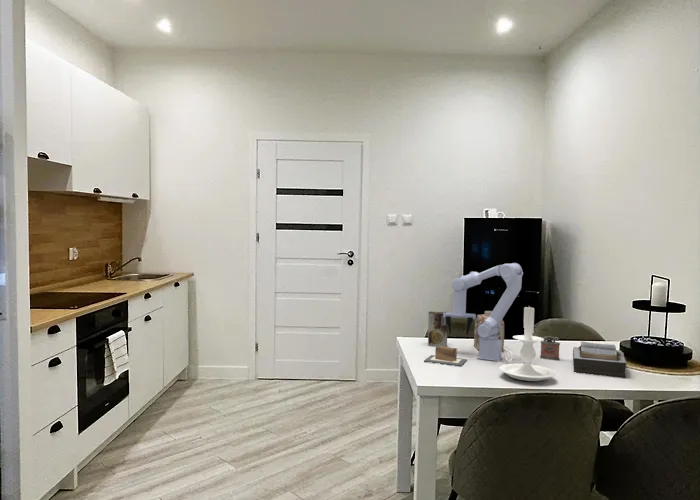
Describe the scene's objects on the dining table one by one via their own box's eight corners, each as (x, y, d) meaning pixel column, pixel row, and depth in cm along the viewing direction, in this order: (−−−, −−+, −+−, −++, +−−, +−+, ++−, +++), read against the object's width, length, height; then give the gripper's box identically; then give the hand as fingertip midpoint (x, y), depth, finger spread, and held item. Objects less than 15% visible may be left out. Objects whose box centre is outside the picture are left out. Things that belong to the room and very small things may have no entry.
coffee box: (446, 344, 268) (447, 311, 268) (447, 346, 262) (448, 313, 261) (427, 343, 269) (428, 311, 269) (428, 346, 263) (429, 312, 262)
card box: (439, 357, 236) (440, 345, 236) (456, 360, 231) (456, 348, 231) (435, 358, 233) (435, 347, 233) (451, 361, 228) (452, 350, 228)
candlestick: (524, 367, 225) (526, 300, 224) (567, 383, 202) (570, 308, 201) (482, 370, 218) (484, 301, 217) (522, 388, 195) (524, 310, 194)
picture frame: (467, 360, 235) (467, 358, 234) (461, 366, 224) (461, 364, 224) (431, 356, 241) (431, 354, 241) (423, 362, 230) (423, 360, 230)
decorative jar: (503, 352, 253) (505, 313, 253) (478, 351, 254) (480, 313, 253) (497, 346, 265) (498, 310, 265) (473, 346, 265) (474, 309, 265)
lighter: (539, 358, 242) (540, 336, 242) (540, 356, 245) (541, 334, 245) (558, 360, 238) (559, 338, 238) (559, 359, 241) (560, 336, 241)
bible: (633, 367, 231) (634, 344, 230) (625, 381, 208) (626, 355, 208) (574, 359, 244) (575, 337, 243) (561, 371, 221) (562, 347, 221)
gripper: (443, 304, 246) (442, 334, 246) (476, 306, 243) (475, 336, 244) (443, 302, 253) (442, 331, 253) (475, 304, 250) (474, 333, 251)
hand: (458, 333), depth 249 cm, fingers open, 7 cm apart
